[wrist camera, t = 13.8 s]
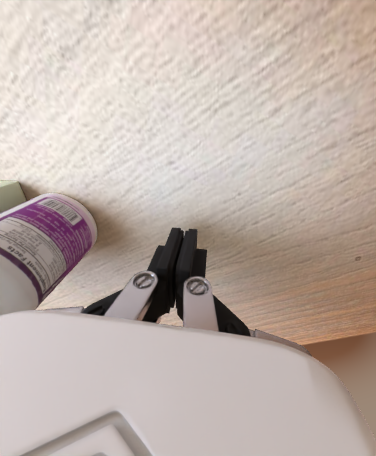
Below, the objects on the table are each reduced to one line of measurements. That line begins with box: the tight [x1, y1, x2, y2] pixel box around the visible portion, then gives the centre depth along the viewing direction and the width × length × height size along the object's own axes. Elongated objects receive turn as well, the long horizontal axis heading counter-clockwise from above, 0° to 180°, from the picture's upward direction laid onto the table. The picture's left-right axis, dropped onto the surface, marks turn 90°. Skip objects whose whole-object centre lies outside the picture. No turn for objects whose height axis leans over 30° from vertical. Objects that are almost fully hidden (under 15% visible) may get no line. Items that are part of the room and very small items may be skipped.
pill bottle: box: [0, 193, 97, 316], centre depth 11 cm, size 5×5×10 cm
